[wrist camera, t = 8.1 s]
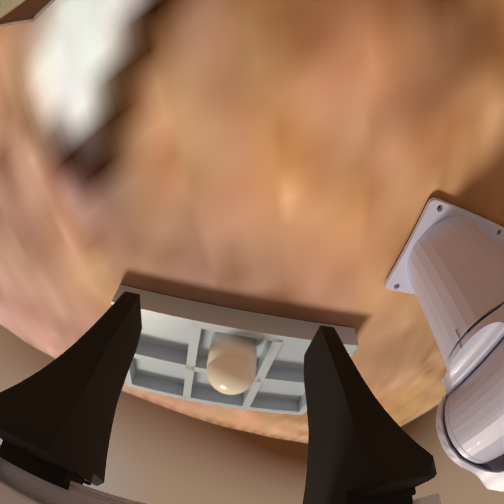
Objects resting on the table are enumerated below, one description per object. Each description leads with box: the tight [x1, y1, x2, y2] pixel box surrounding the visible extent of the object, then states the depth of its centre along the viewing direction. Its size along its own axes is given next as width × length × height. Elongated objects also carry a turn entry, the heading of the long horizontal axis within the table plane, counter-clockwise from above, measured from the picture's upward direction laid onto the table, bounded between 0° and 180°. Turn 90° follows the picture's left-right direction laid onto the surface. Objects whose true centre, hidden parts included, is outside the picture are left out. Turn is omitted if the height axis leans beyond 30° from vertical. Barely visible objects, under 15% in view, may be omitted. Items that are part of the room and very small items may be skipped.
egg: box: [206, 332, 257, 395], centre depth 25 cm, size 4×4×5 cm
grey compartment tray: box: [112, 285, 359, 415], centre depth 28 cm, size 20×14×2 cm
